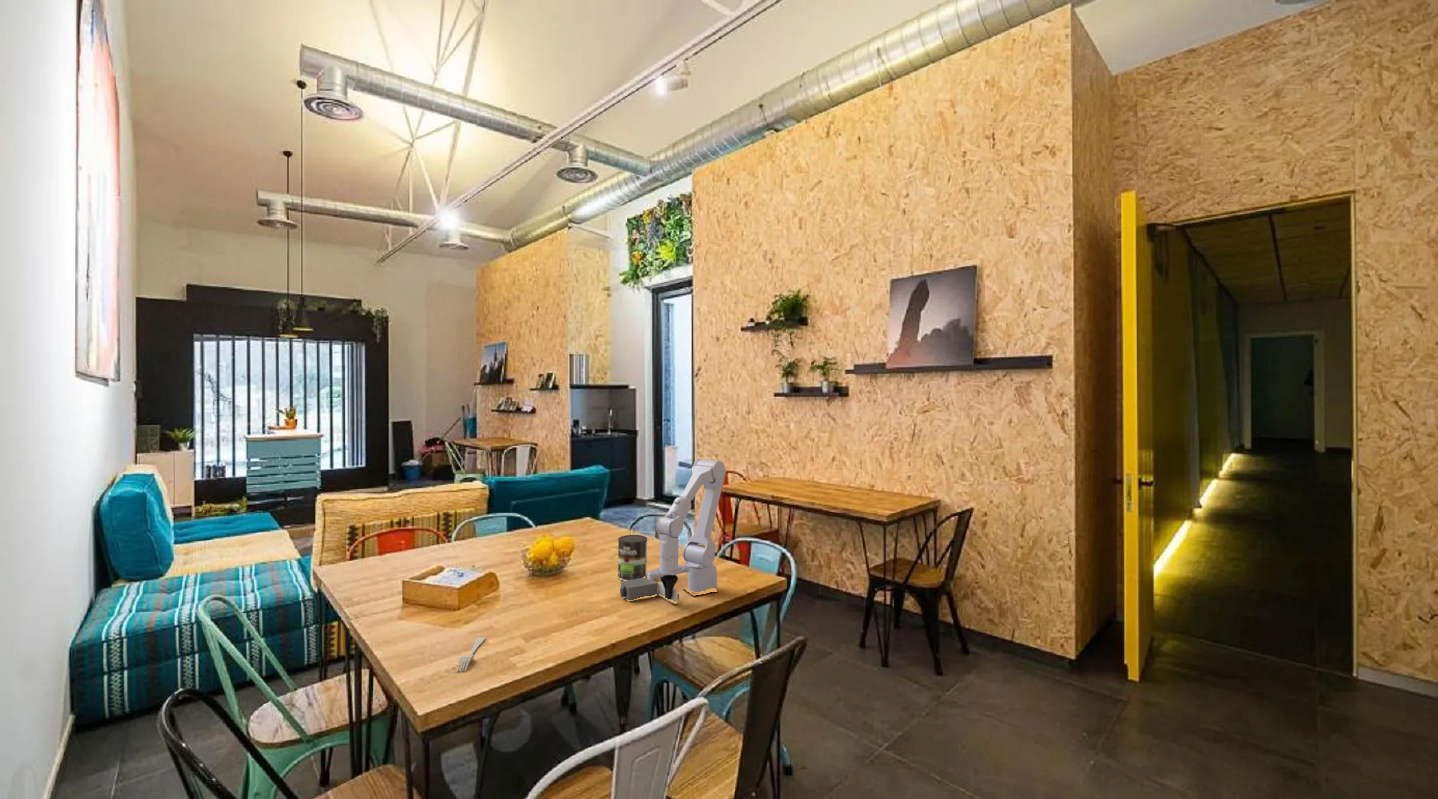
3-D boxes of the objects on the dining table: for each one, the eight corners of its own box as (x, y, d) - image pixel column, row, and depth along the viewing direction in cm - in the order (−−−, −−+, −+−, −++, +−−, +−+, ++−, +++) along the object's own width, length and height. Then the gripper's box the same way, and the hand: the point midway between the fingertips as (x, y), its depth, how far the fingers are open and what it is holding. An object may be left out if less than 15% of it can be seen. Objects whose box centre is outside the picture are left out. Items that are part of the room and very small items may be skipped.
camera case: (649, 590, 199) (649, 576, 199) (657, 596, 193) (657, 583, 193) (617, 595, 193) (617, 581, 193) (625, 602, 187) (625, 588, 187)
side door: (657, 595, 193) (657, 582, 193) (661, 594, 194) (661, 581, 194) (675, 605, 185) (675, 591, 185) (679, 604, 186) (679, 590, 186)
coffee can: (639, 583, 205) (639, 543, 205) (612, 580, 208) (613, 540, 208) (651, 574, 215) (651, 535, 215) (625, 571, 218) (625, 533, 218)
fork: (487, 646, 161) (487, 636, 161) (465, 675, 140) (466, 663, 141) (476, 647, 161) (477, 636, 161) (453, 676, 140) (453, 664, 140)
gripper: (654, 562, 179) (654, 606, 179) (695, 555, 187) (694, 597, 187) (644, 556, 185) (643, 599, 185) (683, 549, 193) (683, 591, 193)
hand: (668, 598), depth 186 cm, fingers closed
